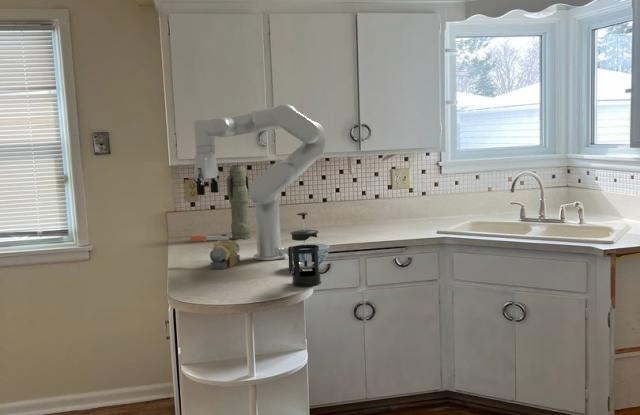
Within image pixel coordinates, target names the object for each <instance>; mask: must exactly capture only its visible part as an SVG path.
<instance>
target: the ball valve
mask: <svg viewBox="0 0 640 415" xmlns="http://www.w3.org/2000/svg"><path fill="white" fill-rule="evenodd" d="M212 245H213V246H212V250H211V251H210V253H209V258H210V260H211V262H210V269H211V270H225V269H227V268H231V267H233V266H235V265H237V264H238V263H239V262H240V261H241V259H240V257H241V256H240V254H239V253H240V249H241V248H240V245H239V243H237V240H234V239H229V241H220V240H216V241H215V242H213V243H212Z"/></svg>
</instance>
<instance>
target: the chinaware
mask: <svg viewBox="0 0 640 415" xmlns="http://www.w3.org/2000/svg"><path fill="white" fill-rule="evenodd" d="M298 245H304V243H299V244H293V245H289V246H288V247H290V246H298ZM305 245H317V246H319V251H318V263H319V264H318V268H320V267H319V266H320V265H321V264H322V263H323V262H325V260H326V259H327V257H328V255H329V252H330V245H329V244H327V243H319V242H317V243H315V242H313V243H305ZM300 250H302V249H300ZM292 255H293V253H292ZM306 260H307V262H312V256H311V253H307V254H306ZM304 261H305V254H299V262H304ZM301 271H312V268H306V269H301Z"/></svg>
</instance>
